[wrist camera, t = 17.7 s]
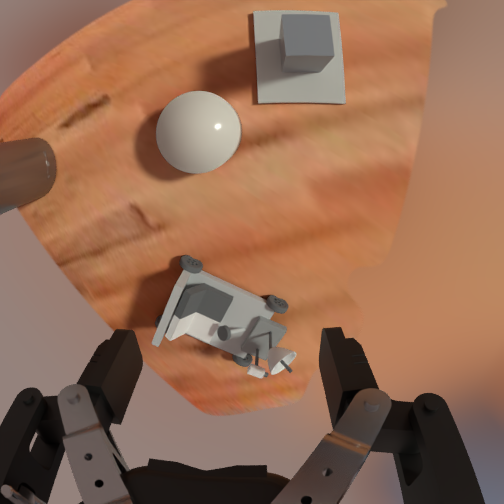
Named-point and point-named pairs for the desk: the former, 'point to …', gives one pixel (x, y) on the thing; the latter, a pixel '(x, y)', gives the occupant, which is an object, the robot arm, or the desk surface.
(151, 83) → the desk surface
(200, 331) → the toy car
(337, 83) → the rubber mat
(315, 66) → the cap block
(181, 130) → the white round part
